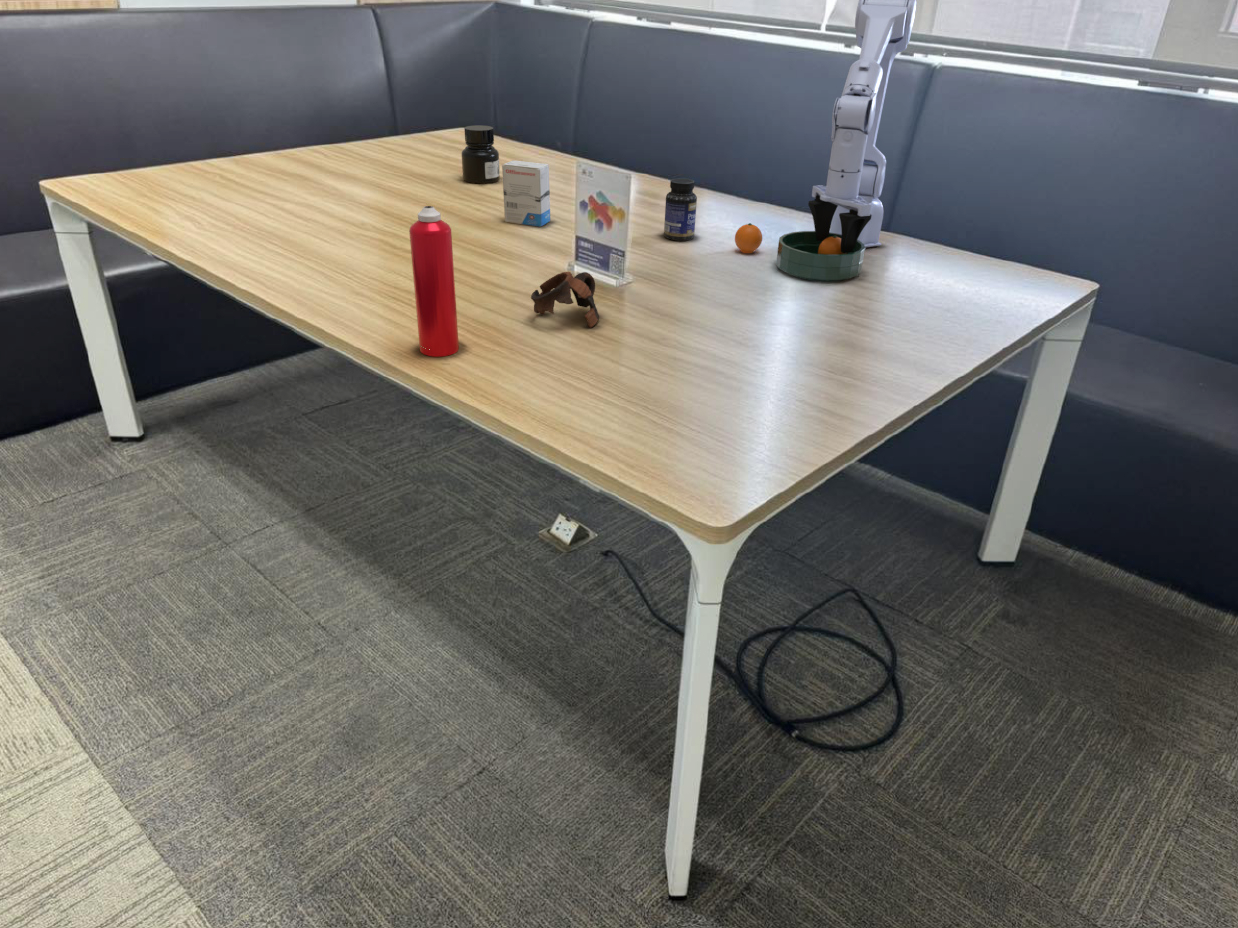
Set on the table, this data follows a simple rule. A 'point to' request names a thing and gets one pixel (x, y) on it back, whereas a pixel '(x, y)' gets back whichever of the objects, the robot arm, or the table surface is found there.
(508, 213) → the ink box
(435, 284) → the bottle
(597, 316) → the brown curved broken pieces
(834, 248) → the clementine
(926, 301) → the table surface
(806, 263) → the bowl
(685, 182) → the pill bottle
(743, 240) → the clementine
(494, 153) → the ink bottle
